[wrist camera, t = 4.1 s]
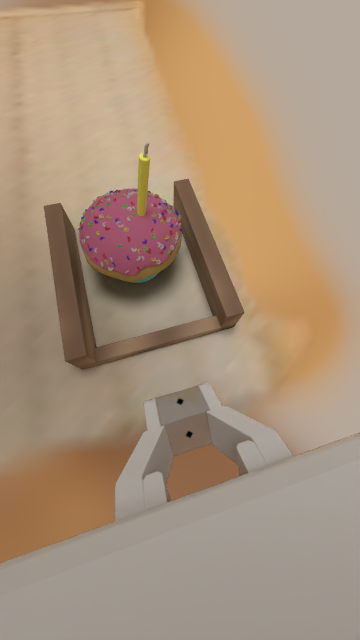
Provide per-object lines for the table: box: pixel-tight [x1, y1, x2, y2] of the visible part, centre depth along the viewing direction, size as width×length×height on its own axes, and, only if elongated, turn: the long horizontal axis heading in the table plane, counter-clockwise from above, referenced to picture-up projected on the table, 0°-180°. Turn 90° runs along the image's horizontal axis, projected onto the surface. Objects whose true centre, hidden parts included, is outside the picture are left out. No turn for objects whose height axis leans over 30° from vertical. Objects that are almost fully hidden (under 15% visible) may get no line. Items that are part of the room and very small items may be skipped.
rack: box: [44, 179, 244, 369], centre depth 23 cm, size 14×15×4 cm
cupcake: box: [78, 142, 182, 283], centre depth 19 cm, size 9×8×12 cm
